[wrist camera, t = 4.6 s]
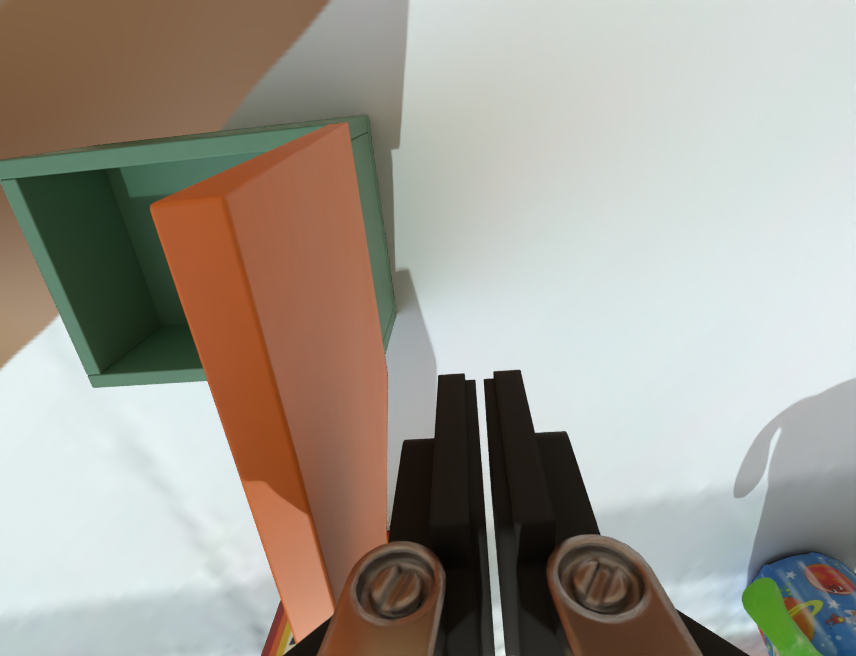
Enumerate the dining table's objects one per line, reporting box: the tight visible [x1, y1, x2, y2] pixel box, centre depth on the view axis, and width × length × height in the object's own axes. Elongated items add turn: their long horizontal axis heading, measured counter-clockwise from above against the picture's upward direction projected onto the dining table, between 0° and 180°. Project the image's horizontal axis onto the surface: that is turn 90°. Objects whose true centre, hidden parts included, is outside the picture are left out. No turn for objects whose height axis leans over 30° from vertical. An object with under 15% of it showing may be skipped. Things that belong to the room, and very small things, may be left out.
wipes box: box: [0, 115, 396, 388], centre depth 27 cm, size 16×12×7 cm
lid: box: [150, 122, 388, 644], centre depth 15 cm, size 16×12×1 cm
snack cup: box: [742, 552, 856, 656], centre depth 35 cm, size 16×10×10 cm
